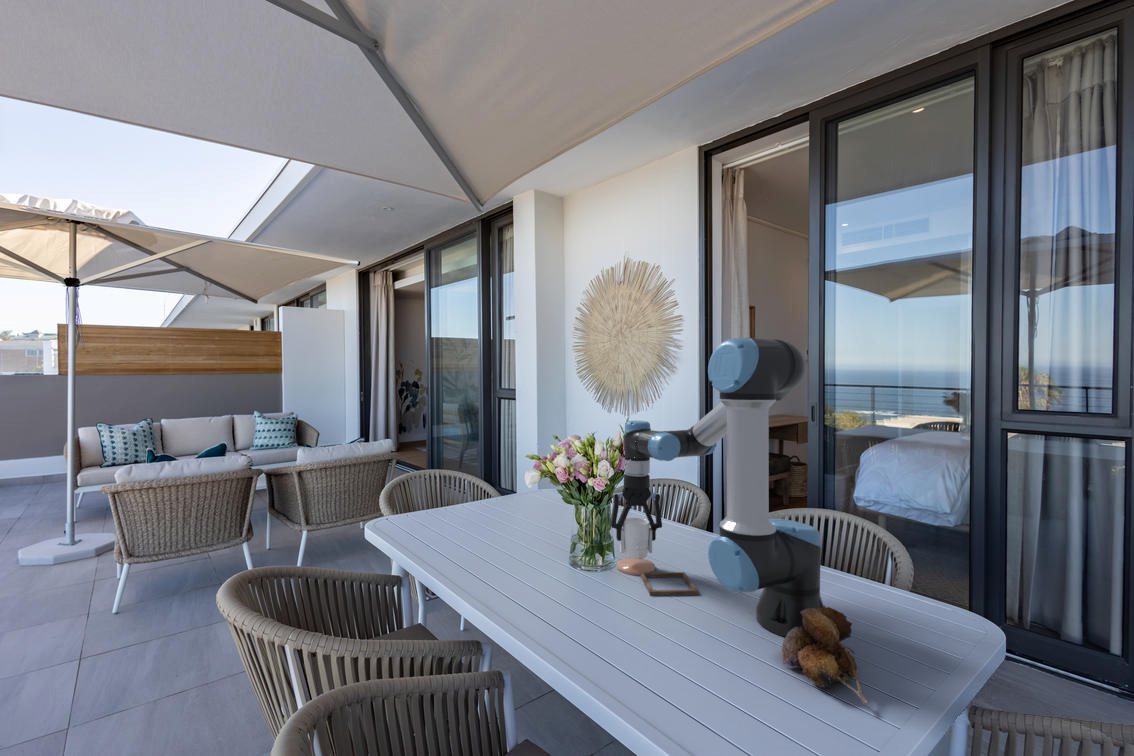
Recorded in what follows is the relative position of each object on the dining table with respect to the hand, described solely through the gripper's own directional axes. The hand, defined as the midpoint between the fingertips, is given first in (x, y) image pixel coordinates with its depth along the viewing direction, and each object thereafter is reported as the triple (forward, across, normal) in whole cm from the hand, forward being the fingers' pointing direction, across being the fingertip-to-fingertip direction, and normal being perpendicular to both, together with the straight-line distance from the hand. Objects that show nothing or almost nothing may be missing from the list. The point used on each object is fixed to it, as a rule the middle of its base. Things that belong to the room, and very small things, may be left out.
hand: (635, 551), depth 150 cm
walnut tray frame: (+5, -6, +13) cm, 15 cm away
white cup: (+1, 0, 0) cm, 1 cm away
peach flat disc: (+5, 0, 0) cm, 5 cm away
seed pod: (+5, -26, +54) cm, 60 cm away
